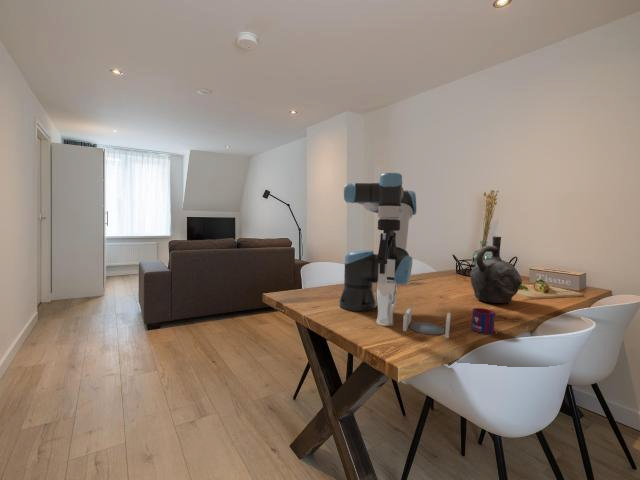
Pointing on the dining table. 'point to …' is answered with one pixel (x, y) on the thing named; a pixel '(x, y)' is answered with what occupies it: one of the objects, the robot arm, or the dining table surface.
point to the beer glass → (385, 302)
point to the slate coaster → (427, 328)
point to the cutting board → (544, 291)
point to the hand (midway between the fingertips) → (386, 280)
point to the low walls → (408, 319)
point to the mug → (483, 320)
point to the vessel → (494, 276)
